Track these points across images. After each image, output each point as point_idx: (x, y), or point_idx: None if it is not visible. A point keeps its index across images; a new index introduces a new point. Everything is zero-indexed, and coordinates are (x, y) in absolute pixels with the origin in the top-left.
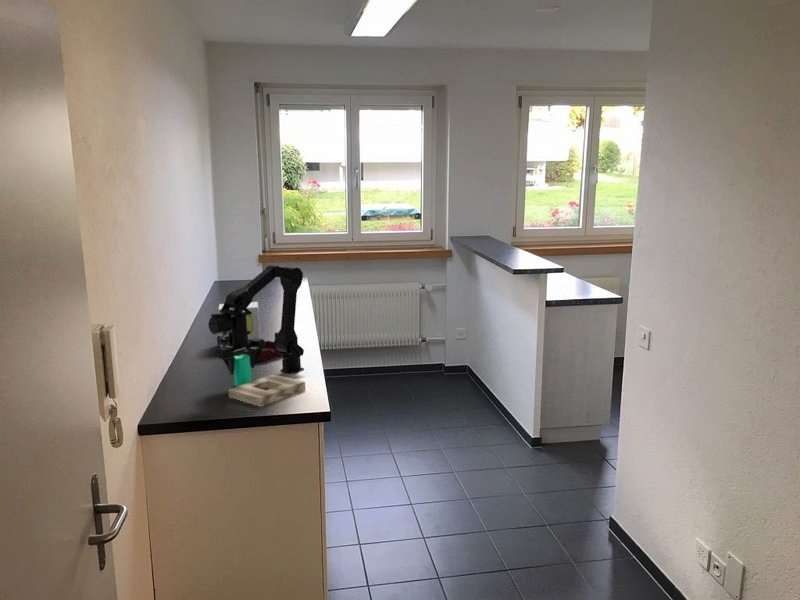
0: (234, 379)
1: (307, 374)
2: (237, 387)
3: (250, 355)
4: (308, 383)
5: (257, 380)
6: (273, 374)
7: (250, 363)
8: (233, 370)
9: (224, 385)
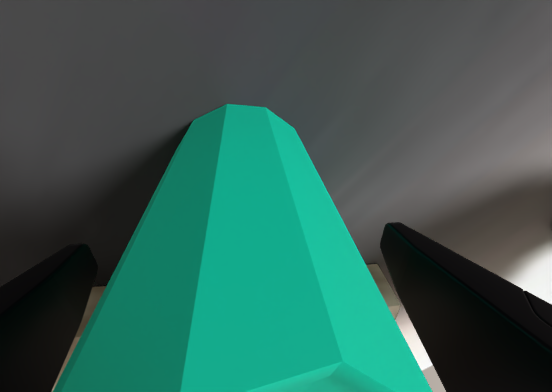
0: (160, 180)
1: (540, 283)
2: (72, 349)
3: (535, 369)
4: (413, 353)
5: None
6: (398, 309)
7: (416, 257)
8: (67, 333)
9: (118, 28)
